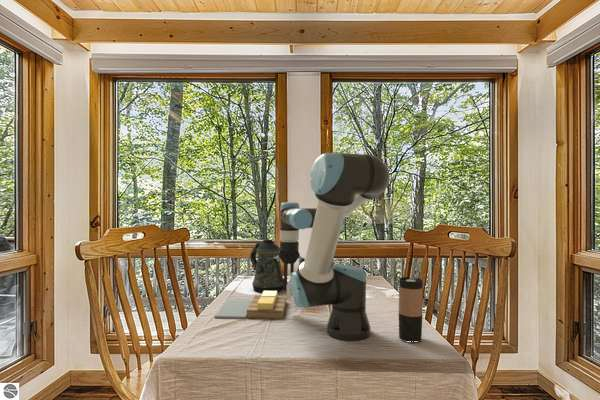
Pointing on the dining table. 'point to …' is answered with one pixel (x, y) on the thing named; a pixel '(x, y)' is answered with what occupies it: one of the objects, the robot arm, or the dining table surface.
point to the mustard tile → (266, 303)
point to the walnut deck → (275, 313)
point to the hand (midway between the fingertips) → (288, 299)
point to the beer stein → (266, 267)
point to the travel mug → (410, 308)
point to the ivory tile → (269, 294)
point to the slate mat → (234, 309)
